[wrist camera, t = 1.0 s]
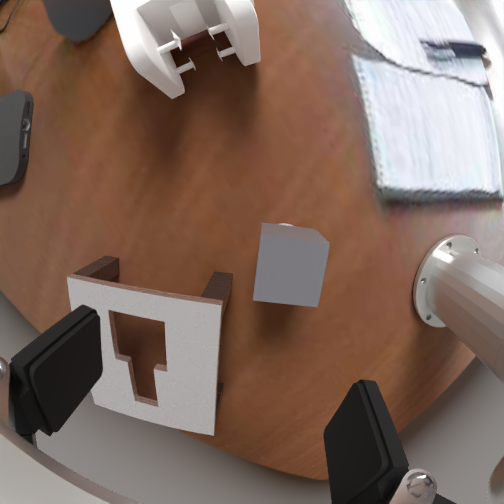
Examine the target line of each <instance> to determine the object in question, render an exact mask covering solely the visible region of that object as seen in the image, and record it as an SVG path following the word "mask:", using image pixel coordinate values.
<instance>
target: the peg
mask: <svg viewBox="0 0 504 504" xmlns="http://www.w3.org/2000/svg"><path fill="white" fill-rule="evenodd" d="M329 247H330V243H329V242H328V241H327V240H326V239H325V238H324V237H323V236H322V235H321V234H320V233H319V232H318V231H317V230H316V229H310V228H303V227H295V226H293V225H291V224H288V223H279V224H271V223H263V222H262V227H261V236H260V244H259V252H258V260H257V269H256V277H255V285H254V294H253V300H255V301H263V302H272V303H281V304H290V305H300V306H311V307H318V303H319V298H320V294H321V289H322V284H323V279H324V274H325V269H326V263H327V258H328V253H329Z"/></svg>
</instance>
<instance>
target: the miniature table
mask: <svg viewBox="0 0 504 504" xmlns="http://www.w3.org/2000/svg"><path fill="white" fill-rule="evenodd" d="M118 274H119V258H116V257H110V256H104V257H102V258H100V259H98V260H97V261H95V262H93V263H91V264H89V265H87V266H86V267H84V268H82V269H80V270H78V271H77V272H75V273H73V274H71V275H70V276H68V277H67V282H68V289H69V297H70V303H71V310H72V311H73V310H75V309H76V308H77V307H79V306H80V305H82V304H83V305H86V306H88V307H91V308H93V309H95V310H96V311H97V314H98V315H99V316H100V326H101V347H102V361H103V373H102V376H101V377H100V379H99V380H98V381H97V383H96V384H95V385H94V386H93V388H92V389H91V392H92V395H93V398H94V401H95V404H97V405H100V406H102V407H105V408H108V409H110V410H113V411H117V412H119V413H123V414H125V415H128V416H132V417H135V418H138V419H142V420H145V421H149V422H152V423H156V424H160V425H165V426H169V427H172V428H177V429H181V430H186V431H191V432H196V433H202V434H207V435H213V436H214V433H215V428H216V423H217V418H218V413H219V408H220V403H221V399H222V394H223V383H218V367H219V352H220V337H221V323H222V318H223V315H224V312H225V308H226V305H227V302H228V299H229V296H230V292H231V286H232V275H233V274H230V273H222V272H214V274H213V275H212V277H211V279H210V281H209V283H208V284H207V286H206V288H205V290H204V292H203V294H202V295H201V297H196V296H189V295H183V294H177V293H170V292H164V291H158V290H153V289H147V288H141V287H136V286H130V285H125V284H120V283H114V282H109V280H111V279H112V278H113V277H115V276H116V275H118ZM113 311H116V312H121V313H125V314H130V315H134V316H139V317H144V318H148V319H153V320H158V321H164V322H165V340H166V358H167V366H166V365H162V364H156V366H155V367H154V376H155V385H156V392H157V400H158V401H157V400H153V399H149V398H145V397H142V396H138V394H137V389H136V383H135V378H134V372H133V366H132V359H131V357H129V356H125V355H121V354H119V349H118V343H117V336H116V329H115V321H114V312H113Z"/></svg>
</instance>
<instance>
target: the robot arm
mask: <svg viewBox="0 0 504 504" xmlns="http://www.w3.org/2000/svg"><path fill="white" fill-rule="evenodd" d="M413 300H414V306H415V309H416V311H417V313H418V315H419V316H420V318H421V319H422V320H423V321H424V322H425V323H427V324H428V325H430V326H433V327H446V326H447V327H448V328H449V329H450V330H451V331H452V332H453V333H454V334H455V335H456V336H457V337H458V338H459V339H460V340H461V341H462V342H463V343H464V344H465V345H466V346H467V347H468V348H469V349H470V350H471V351H472V352H473V353H474V354H475V355H476V356H477V357H478V358H479V359H480V360H481V361H482V362H483V363H484V364H485V365H486V366H487V367H488V368H489V369H490V371H491V372H492V373H493V374H494V375H495V376H496V377H497V378H498V379H499V380H500V381H501V382H502V383H503V384H504V267H503V266H501V265H499V264H497V263H495V262H493V261H491V260H489V259H487V258H485V257H484V256H483V253H482V250H481V248H480V247H479V245H478V244H477V243H476V242H475V241H474V240H473V239H472V238H469V237H467V236H464V235H460V234H457V235H450V236H447V237H445V238H443V239H442V240H440V241H439V242H437V243H436V244H435V245H434V246H433V247H432V248H431V249H430V250H429V252H428V253H427V254H426V256H425V257H424V259H423V261H422V262H421V264H420V267H419V269H418V271H417V274H416V278H415V282H414V288H413ZM11 360H12V362H11V363H10V364H8V362H7V361H6V360H5V359H4V358H2V357H0V504H142V503H139V502H137V501H134V500H132V499H129V498H127V497H124V496H122V495H120V494H117V493H115V492H113V491H111V490H109V489H107V488H104V487H102V486H100V485H98V484H96V483H94V482H92V481H90V480H89V479H87V478H84V477H83V476H81V475H79V474H77V473H76V472H74V471H72V470H71V469H69V468H67V467H65V466H64V465H62V464H61V463H59V462H57V461H56V460H54V459H52V458H51V457H50V456H48V455H47V454H45V453H44V452H42V451H41V450H39V449H38V448H37V442H36V435H35V433H36V432H37V430H38V429H39V430H41V431H42V432H44V433H45V434H47V435H48V436H51V435H52V433H53V432H58V431H59V430H60V428H61V427H62V426H63V425H64V423H65V422H66V421H67V419H68V418H69V417H70V415H71V414H72V413H73V412H74V410H75V409H76V408H77V406H78V405H79V404H80V403H81V401H82V400H83V399H84V397H85V396H86V395H87V393H88V392H89V391H90V390H91V389H92V388H93V386H94V385H95V384H96V383H97V381H98V380H99V379H100V377H101V376H102V373H103V361H102V347H101V326H100V316H99V315H98V314H97V311H96V310H95V309H93V308H91V307H88V306H86V305H83V304H82V305H80V306H79V307H77V308H76V309H75V310H73V311H72V312H71V313H69V314H68V315H66V316H65V317H64V318H62V319H61V320H60V321H58V322H57V323H56V324H54V325H53V326H52V327H50V328H49V329H48V330H47V331H45V332H44V333H43V334H41V335H40V336H39V337H37V338H36V339H35V340H34V341H33V342H31V343H30V344H29V345H27V346H26V347H25V348H24V349H22V350H21V351H20V352H19V353H18V354H16V355H15V356H14V357H13V358H12V359H11ZM324 444H325V451H326V458H327V466H328V474H329V482H330V490H331V500H332V504H456V503H454V502H452V501H450V500H448V499H446V498H444V497H442V496H441V495H439V494H437V493H436V491H437V483H436V480H435V478H434V477H433V476H432V475H431V474H430V473H429V472H427V471H425V470H422V469H413V470H411V471H409V470H408V466H409V464H408V461H407V458H406V455H405V453H404V450H403V447H402V445H401V442H400V439H399V437H398V434H397V432H396V429H395V427H394V424H393V422H392V419H391V417H390V414H389V412H388V409H387V407H386V404H385V402H384V400H383V397H382V395H381V393H380V390H379V388H378V386H377V383H376V382H375V381H371V380H359V381H358V382H357V383H354V384H353V385H352V387H351V388H350V390H349V392H348V393H347V395H346V397H345V398H344V400H343V402H342V403H341V405H340V406H339V408H338V410H337V411H336V413H335V414H334V416H333V417H332V419H331V420H330V422H329V423H328V425H327V426H326V428H325V430H324ZM487 496H488V502H489V504H504V456H503V457H502V458H501V460H500V461H499V462H498V464H497V465H496V467H495V469H494V470H493V472H492V474H491V476H490V479H489V482H488V487H487Z"/></svg>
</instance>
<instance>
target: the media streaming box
mask: <svg viewBox="0 0 504 504" xmlns="http://www.w3.org/2000/svg"><path fill="white" fill-rule="evenodd" d="M32 112H33V97H32V95H31V94H30V93H29V92H25V91H21V90H16V91H13V92H11V93H9V94H6V95H5V96H3V97H1V98H0V186H2V185H7V184H10V183H14V182H17V181H18V180H19V179H20V178H21V177H22V176H23V174H24V172H25V169H26V167H27V163H28V154H29V142H30V132H31V121H32Z"/></svg>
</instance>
